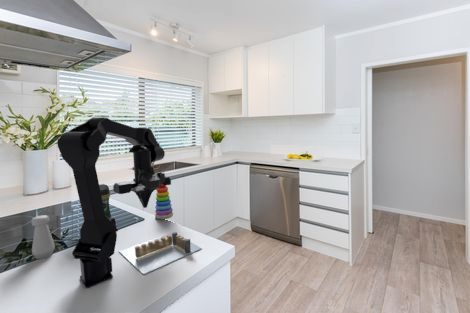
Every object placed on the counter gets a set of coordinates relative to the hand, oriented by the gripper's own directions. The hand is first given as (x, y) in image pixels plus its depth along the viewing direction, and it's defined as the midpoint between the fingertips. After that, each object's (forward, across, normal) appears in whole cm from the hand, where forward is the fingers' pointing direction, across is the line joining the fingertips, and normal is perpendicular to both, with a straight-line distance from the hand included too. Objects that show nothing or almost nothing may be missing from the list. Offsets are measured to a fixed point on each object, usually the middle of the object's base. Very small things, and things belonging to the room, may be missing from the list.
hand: (145, 207), depth 87 cm
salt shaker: (+12, -28, +13) cm, 33 cm away
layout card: (+12, 0, -11) cm, 16 cm away
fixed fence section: (+12, +5, -15) cm, 20 cm away
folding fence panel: (+11, -2, -11) cm, 16 cm away
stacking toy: (+12, +16, +16) cm, 26 cm away
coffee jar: (+12, -10, +20) cm, 25 cm away
